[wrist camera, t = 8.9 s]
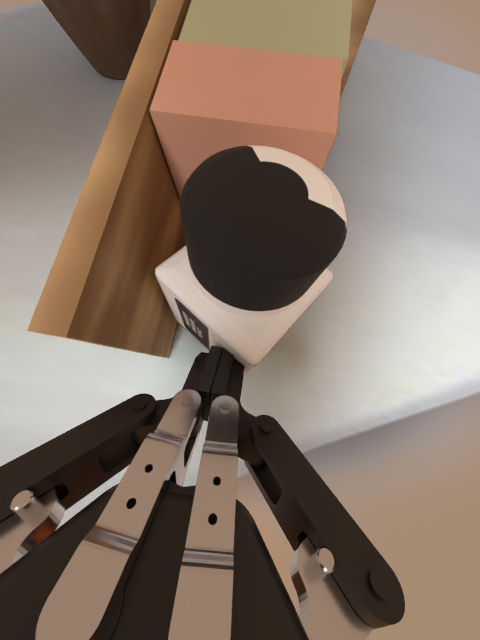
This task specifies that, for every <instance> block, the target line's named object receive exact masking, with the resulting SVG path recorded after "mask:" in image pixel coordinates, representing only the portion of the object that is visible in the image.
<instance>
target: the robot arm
mask: <svg viewBox="0 0 480 640" xmlns="http://www.w3.org/2000/svg"><path fill="white" fill-rule="evenodd" d="M244 367H245V366H244V365H243V364H241V363H240V362H239V361H237V360H236V359H235V358H234V355H233V354H231V353H230V352H229V351H227V350H226V349H225V348H223V347H219V346H213V345H212V346H211V348H210V351H209V353H204V352H201V353H200V354H199V355H198V356H197V357H196V358H195V361H194V363H193V365H192V368H191V370H190V372H189V375H188V377H187V379H186V382H185V384H184V386H183V389H182V391H180V392H178V393H177V394H176V395H175V396H174V397H173V398H170V399H166V400H157V401H155V399H154V397H153V396H151V395H149V394H138V395H136V396H133V397H132V398H130V399H128V400H126V401H124V402H122V403H120V404H118V405H116V406H115V407H113V408H111V409H109V410H107V411H105V412H103V413H101V414H99V415H97V416H96V417H94V418H92V419H90V420H88V421H86V422H84V423H82V424H80V425H79V426H77V427H75V428H73V429H71V430H69V431H67V432H65V433H63V434H62V435H60V436H58V437H56V438H54V439H52V440H50V441H48V442H46V443H44V444H43V445H41V446H39V447H37V448H35V449H33V450H31V451H29V452H27V453H26V454H24V455H22V456H20V457H18V458H16V459H14V460H12V461H10V462H8V463H7V464H5V465H3V466H1V467H0V640H366V638H367V637H368V635H369V633H370V632H371V630H373V629H377V628H381V627H385V626H389V625H393V624H396V623H398V622H399V621H400V620H401V619H402V617H403V615H404V611H405V601H404V595H403V591H402V588H401V585H400V583H399V581H398V579H397V577H396V575H395V573H394V572H393V570H392V569H391V567H390V566H389V565H388V564H387V562H386V561H385V560H384V558H383V557H382V556H381V555H380V553H379V552H378V551H377V549H376V548H375V547H374V546H373V544H372V543H371V542H370V540H369V539H368V538H367V537H366V535H365V534H364V533H363V531H362V530H361V529H360V528H359V526H358V525H357V524H356V522H355V521H354V520H353V519H352V517H351V516H350V515H349V513H348V512H347V511H346V510H345V508H344V507H343V506H342V504H341V503H340V502H339V501H338V499H337V498H336V497H335V495H334V494H333V493H332V491H331V490H330V489H329V488H328V486H327V485H326V484H325V482H324V481H323V480H322V479H321V477H320V476H319V475H318V473H317V472H316V471H315V470H314V468H313V467H312V466H311V464H310V463H309V462H308V461H307V459H306V458H305V457H304V455H303V454H302V453H301V451H300V450H299V449H298V448H297V446H296V445H295V444H294V442H293V441H292V440H291V439H290V437H289V436H288V435H287V433H286V432H285V431H284V430H283V428H282V427H281V426H280V424H279V423H278V422H277V421H276V420H275V419H274V418H272V417H271V416H268V415H260V416H257V417H255V416H253V415H251V414H249V413H247V412H246V411H245V410H244V409H243V407H242V406H241V403H240V396H241V389H242V382H243V375H244ZM208 419H209V421H208ZM203 420H204V421H208V427H207V433H206V439H205V444H204V446H203V450H202V456H201V461H200V467H199V472H198V478H197V484H196V486H188V487H183V484H184V479H185V474H186V471H187V468H188V465H189V462H190V459H191V457H192V454H193V451H194V448H195V446H196V443H197V440H198V437H199V435H200V430H201V427H202V423H203ZM238 457H239V458H241V459H243V460H244V461H245V464H246V466H247V468H248V470H249V472H250V473H251V475H252V477H253V479H254V480H255V482H256V484H257V486H258V487H259V489H260V491H261V493H262V495H263V496H264V498H265V500H266V502H267V503H268V505H269V507H270V509H271V510H272V512H273V514H274V516H275V518H276V519H277V521H278V523H279V525H280V527H281V528H282V530H283V532H284V534H285V535H286V537H287V539H288V541H289V543H290V544H291V546H292V548H293V550H294V551H295V552H294V554H293V555H292V558H291V562H290V573H291V578H292V582H293V585H294V587H295V590H296V592H297V595H298V599H299V608H300V615H299V617H298V614H297V612H296V610H295V608H294V605H293V603H292V601H291V599H290V597H289V595H288V592H287V591H286V588H285V586H284V584H283V582H282V580H281V577H280V575H279V573H278V571H277V569H276V567H275V565H274V562H273V560H272V558H271V556H270V554H269V551H268V549H267V547H266V545H265V543H264V541H263V539H262V536H261V534H260V532H259V530H258V528H257V525H256V523H255V521H254V520H253V517H252V516H251V514H250V513H249V511H248V510H247V509H246V507H245V506H244V505H243V504H242V503H241V502H239V501H238V500H237V499H236V484H237V463H238ZM128 465H130V466H129V467H128V469H127V471H126V473H125V474H124V476H123V478H122V479H121V481H120V483H119V484H117V485H115V486H113V487H112V488H110V489H108V490H107V491H106V492H104V493H103V494H102V495H100V496H99V497H98V498H96V499H95V500H94V501H93V502H91V503H90V504H89V505H88V506H86V507H85V508H84V509H82V510H81V511H80V512H79V513H77V514H76V515H75V516H73V517H72V518H71V519H70V520H68V521H67V522H66V523H65V524H63V525H62V526H61V527H59V528H58V529H57V527H58V525H59V524H60V522H61V520H62V518H63V516H64V512H65V510H67V509H68V508H70V507H71V506H72V505H74V504H75V503H77V502H78V501H79V500H81V499H82V498H84V497H85V496H86V495H88V494H89V493H91V492H92V491H93V490H95V489H96V488H98V487H99V486H100V485H102V484H103V483H105V482H106V481H107V480H109V479H110V478H112V477H113V476H114V475H116V474H117V473H119V472H120V471H121V470H123V469H124V468H125V467H127V466H128ZM56 529H57V530H56ZM55 530H56V531H55Z"/></svg>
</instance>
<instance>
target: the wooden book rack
mask: <svg viewBox="0 0 480 640" xmlns="http://www.w3.org/2000/svg"><path fill="white" fill-rule="evenodd" d="M375 1H376V0H353V2H352V15H351V29H350V42H349V56H348V62H347V65H346V67H345V70H344V73H343V76H342V79H341V88H340V98H341V95H342V92H343V89H344V87H345V84H346V81H347V78H348V76H349V73H350V70H351V67H352V65H353V62H354V59H355V56H356V54H357V51H358V48H359V45H360V43H361V40H362V37H363V35H364V32H365V29H366V26H367V23H368V21H369V18H370V15H371V12H372V10H373V7H374V4H375ZM190 3H191V0H157V1H156V4H155V6H154V9H153V12H152V14H151V17H150V19H149V22H148V24H147V27H146V29H145V32H144V34H143V37H142V40H141V42H140V45H139V47H138V50H137V52H136V55H135V57H134V60H133V62H132V65H131V68H130V70H129V73H128V75H127V78H126V80H125V83H124V85H123V88H122V90H121V93H120V96H119V98H118V101H117V103H116V106H115V108H114V111H113V113H112V116H111V118H110V121H109V124H108V126H107V129H106V131H105V134H104V136H103V139H102V141H101V144H100V146H99V149H98V152H97V154H96V157H95V159H94V162H93V164H92V167H91V169H90V172H89V175H88V177H87V180H86V182H85V185H84V187H83V190H82V192H81V195H80V197H79V200H78V203H77V205H76V208H75V210H74V213H73V215H72V218H71V220H70V223H69V225H68V228H67V231H66V233H65V236H64V238H63V241H62V243H61V246H60V248H59V251H58V253H57V256H56V259H55V261H54V264H53V266H52V269H51V271H50V274H49V276H48V279H47V281H46V284H45V287H44V289H43V292H42V294H41V297H40V299H39V302H38V304H37V307H36V309H35V312H34V315H33V317H32V320H31V322H30V325H29V327H28V330H27V331H32V332H37V333H42V334H47V335H52V336H57V337H62V338H67V339H72V340H77V341H82V342H87V343H92V344H97V345H103V346H108V347H113V348H118V349H123V350H128V351H133V352H138V353H143V354H148V355H153V356H159V357H165V358H169V356H170V351H171V347H172V343H173V339H174V335H175V330H176V326H177V322H178V321H177V320H176V319H175V317H174V315H173V313H172V311H171V308H170V306H169V304H168V302H167V299H166V297H165V295H164V293H163V291H162V288H161V286H160V284H159V282H158V280H157V277H156V275H155V269H156V267H157V266H159V265H160V264H161V263H163V262H164V261H165V260H167V259H168V258H169V257H171V256H172V255H174V254H175V253H176V252H178V251H179V250H180V249H182V248H183V247H184V246H186V241H185V236H184V230H183V224H182V218H181V210H180V197H179V194H178V192H177V189H176V186H175V183H174V180H173V177H172V174H171V171H170V169H169V166H168V163H167V160H166V157H165V154H164V151H163V148H162V145H161V143H160V140H159V137H158V134H157V131H156V128H155V125H154V122H153V119H152V117H151V114H150V111H149V110H150V107H151V104H152V101H153V98H154V95H155V92H156V89H157V86H158V83H159V80H160V77H161V74H162V71H163V68H164V65H165V62H166V60H167V57H168V54H169V51H170V48H171V45H172V42H173V40H177V41H178V40H179V37H180V34H181V31H182V28H183V25H184V22H185V18H186V15H187V12H188V9H189V6H190Z"/></svg>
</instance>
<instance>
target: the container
mask: <svg viewBox="0 0 480 640" xmlns="http://www.w3.org/2000/svg"><path fill="white" fill-rule="evenodd" d="M180 210H181V218H182V224H183V230H184V236H185V241H186V246H184V247H183V248H182V249H180V250H179V251H178V252H176V253H175V254H174V255H172V256H171V257H169V258H168V259H167V260H165V261H164V262H163V263H161V264H160V265H159V266H157V267H156V269H155V275H156V277H157V280H158V282H159V284H160V286H161V288H162V291H163V293H164V295H165V297H166V299H167V302H168V304H169V306H170V308H171V311H172V313H173V315H174V317H175V319H176V320H177V321H178V322H179V323H180V324H181V325H182V326H183V327H184V328H185V329H186V330H187V331H188V332H189V333H190V334H191V335H192V336H193V337H194V338H195V339H196V340H197V341H198V342H200V343H201V344H202V345H203V346H204V347H205V348H206V349H207V350H208V351H210V348H211V346H212V345H213V346H219V347H223V348H225V349H226V350H227V351H229V352H230V353H231V354H233V355H234V358H235V359H236V360H237V361H239V362H240V363H241V364H243V365H244V366H245V367H244V375H245V374H246V373H248V372H249V371H250V370H251V369H252V368H253V367H254V366H256V365H257V364H258V363H259V362H260V361H261V360H262V359H263V358H264V356H265V355H266V354H267V353H268V352H269V351H270V350H271V348H272V347H273V346H274V345H275V344H276V343H277V342H278V340H279V339H280V338H281V337H282V336H283V335H284V334H285V333H286V331H287V330H288V329H289V328H290V327H291V326H292V325H293V323H294V322H295V321H296V320H297V319H298V318H299V317H300V316H301V314H302V313H303V312H304V311H305V310H306V309H307V308H308V306H309V305H310V304H311V303H312V302H313V301H314V300H315V298H316V297H317V296H318V295H319V294H320V293H321V292H322V291H323V289H324V288H325V287H326V286H327V285H328V284H329V283H330V281H331V280H332V278H333V273H332V271H331V270H329V269H328V268H327V267H328V265H329V264H330V263H331V262H332V261H333V260H334V258H335V257H336V256H337V255H338V253H339V251H340V250H341V248H342V246H343V244H344V241H345V238H346V233H347V219H346V213H345V208H344V204H343V201H342V198H341V196H340V194H339V192H338V190H337V188H336V187H335V185H334V184H333V182H332V181H331V180H330V179H329V178H328V177H327V175H326V174H324V173H323V172H322V171H321V170H320V169H319V168H318V167H316V166H315V165H313V164H312V163H311V162H309V161H307V160H306V159H304V158H302V157H300V156H298V155H296V154H293V153H291V152H288V151H285V150H282V149H278V148H273V147H268V146H258V145H247V146H238V147H233V148H228V149H225V150H223V151H220V152H218V153H216V154H214V155H212V156H210V157H209V158H207V159H206V160H204V161H203V162H202V163H201V164H200V165H199V166H198V167H197V168H196V169H195V170H194V171H193V172H192V174H191V175H190V176H189V178H188V179H187V181H186V183H185V185H184V187H183V190H182V194H181V200H180ZM244 375H243V376H244Z"/></svg>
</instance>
